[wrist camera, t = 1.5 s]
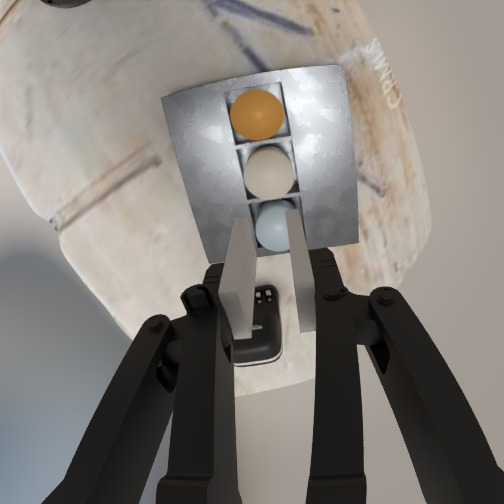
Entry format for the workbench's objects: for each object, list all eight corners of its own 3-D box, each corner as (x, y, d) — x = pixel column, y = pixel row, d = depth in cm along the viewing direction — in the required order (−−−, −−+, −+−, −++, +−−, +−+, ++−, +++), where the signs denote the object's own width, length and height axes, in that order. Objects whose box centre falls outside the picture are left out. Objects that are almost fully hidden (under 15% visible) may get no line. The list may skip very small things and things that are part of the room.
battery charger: (275, 278, 39) (276, 343, 29) (282, 298, 41) (284, 362, 31) (227, 288, 40) (216, 352, 31) (236, 307, 42) (228, 370, 32)
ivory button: (241, 150, 28) (239, 156, 25) (288, 142, 27) (290, 148, 25) (250, 192, 30) (249, 203, 28) (294, 185, 30) (297, 195, 27)
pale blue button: (253, 202, 31) (251, 214, 28) (296, 196, 30) (299, 207, 28) (260, 240, 33) (260, 254, 31) (301, 234, 33) (304, 247, 30)
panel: (170, 96, 27) (160, 97, 24) (335, 66, 24) (342, 64, 22) (213, 250, 37) (209, 263, 34) (352, 230, 34) (358, 242, 32)
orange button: (229, 95, 25) (225, 95, 22) (277, 86, 24) (278, 85, 22) (239, 139, 27) (236, 144, 25) (286, 131, 27) (288, 135, 24)
